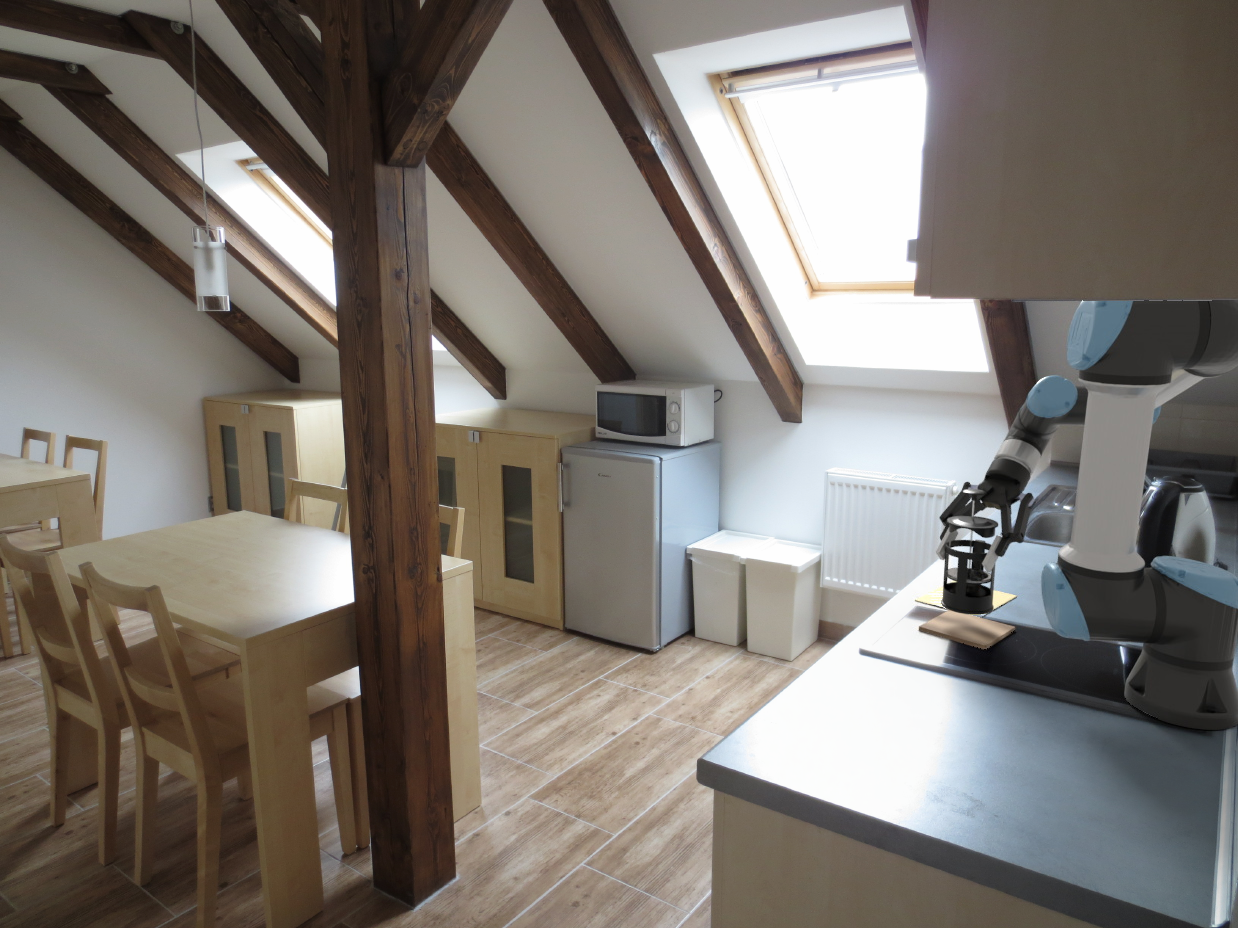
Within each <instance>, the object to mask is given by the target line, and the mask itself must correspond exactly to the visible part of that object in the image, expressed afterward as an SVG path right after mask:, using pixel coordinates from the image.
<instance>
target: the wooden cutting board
mask: <svg viewBox="0 0 1238 928" xmlns="http://www.w3.org/2000/svg"><path fill="white" fill-rule="evenodd" d="M1014 630H1015V631H1016V626H1013V625H1010V624H1005V623H1002V622H998V621H995V620H991V619H987V618H984V617H981V618H980V617H977V616H973V615H969V614H962V613H957V612H954V611H951V610H946V611H945V612H942V613H941V614H939V615H938V616H936V617H933V618H931V619H930V620H928V621H926V622H924V623H923V624H921V625H919V626H918V631H920V632H923V633H927V634H930V635H934V636H937V637H941V638H944V639H947V640H949V641H950V640H951V641H953V642H957V643H960V644H963V643H964V645H967V646H970V647H973V646H974V648H977V647H978V649H980V648H981V650H984V649H986V650H987V648H988V649H989V648H991V647H992V646H994V645H995V644H997V643H998V642H1000V641H1001V640H1003V639H1005V638H1006V637H1007V636H1009V635H1011V634H1012V633H1013V631H1014ZM1015 631H1014V632H1015ZM1011 632H1012V633H1011ZM990 646H991V647H990Z"/></svg>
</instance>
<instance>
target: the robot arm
mask: <svg viewBox="0 0 1238 928" xmlns="http://www.w3.org/2000/svg"><path fill="white" fill-rule="evenodd" d="M1066 341H1067V342H1066V350H1067V353H1066V358H1067V362H1068V363H1067V364H1068V365H1069V366H1070V367H1071V368H1072V369H1075V370H1076V371H1078V377H1077V378H1078V379H1077V380H1078V381H1079V383H1080V384H1081V385H1075V384H1074V382H1073V381H1071V380H1070V379H1068V378H1065V377H1063V376H1062V375H1055V374H1054V375H1047V376H1045V377H1042V378H1040V379H1039V380H1038V381H1037V382H1036V384H1034V386H1033V387H1032V388H1031V390H1030V391H1029V392H1028V394H1027V396H1026V399H1025V401H1024V403H1023V404H1022V405H1021V407H1020V409H1019V411H1018V412H1016V413H1017V414H1016V416H1015V418H1014V421H1013V422H1012V424H1011V425H1010V428H1009V430H1008V432H1007V434H1006V436H1005V438H1004V439H1003V441H1002V443H1001V445H1000V447H999V449H998V450H997V452H996V453H995V455H994V457H993V460H992V462H991V464H990V465H989V467H988V469H987V471H986V473H985V475H984V479H983V480H982V481H981V482H980V483H979V484H971V483H970V481H966V482H964V483H963V485H962V487H961V490H960V491H959V493H958V494H957V495H956V497H954V498H953V500H952V501H951V502H950V504H949V505H948V506H947V507H946V508H945V510H944V511H943V512H942V513H941V514H940V516H939V520H940V522H941V523H942V526H944V528H943V530H942V532H941V533H940V536H939V540H940V543H939V545H938V547H937V548H936V550H935V553H936V555H937V557H938V558H939V560H941V561H945V548H946V543H948V542H949V548H950V544H951V541H953V540H957V539H956V538H957V537H958V535H959V532H958V529H957V530H956V531H954V532H952V533H951V532H949V523H948V522H947V519H948V518H950V517H954V516H972V506H973V501H972V500H971V495H970V494H965V493H963V492H962V491H963V490H966V489H979V490H983V491H985V492H986V494H985V495H977V500H976V501H975V507H974V516H976V515H977V514H978V513H979V512H981V511H982V512H983V511H984V510H985V509H987V508H990V509H996V510H998V511H999V510H1000V525H1001V532H1000V534H1001V535H996V536H995V538H994V540H993V542H992V543H991V547H990V549H989V550H987V552H986V553H987V555H986V557H985V559H984V561H983V563H982V565H983V566H984V571H986V572H988V573H991V570H992V568H993V566H994V565H995V566H996V562H997V561H998V559H999V557H1001V558H1003V557H1004V556H1005V555H1006V553H1007V550H1008V549H1009V546H1010V545H1011V544H1012V543H1017V544H1022V543H1023V542H1025V541H1024V540H1025V535H1026V531H1027V528H1028V523H1029V519H1030V514H1031V511H1032V509H1033V507H1034V506H1035V505H1036V499H1035V497H1034V495H1033V493H1032V492H1027V493H1024V491H1025V490H1026V487H1027V485H1028V484H1029V481H1030V479H1031V476H1032V475H1033V473H1034V471H1035V470H1036V469H1037V466H1038V464H1039V462H1040V461H1041V458H1042V455H1043V453H1045V450H1046V448H1047V447H1048V445H1049V443H1050V442H1051V439H1052V438H1053V436H1054V435H1055V433H1056V431H1057V430H1058V429H1059V428H1060V426H1074V427H1075V426H1081V427H1084V428H1083V437H1082V445H1081V453H1080V459H1079V461H1080V462H1079V469H1078V479H1077V484H1076V485H1077V487H1076V494H1075V495H1076V497H1075V502H1074V503H1075V505H1074V511H1073V520H1072V529H1071V537H1070V541H1069V542H1068V543H1065V545H1063V546H1062V547H1060V548H1059V549H1058V553H1057V560H1056V561H1057V562H1055V561H1054V562H1053V561H1051V562H1049V563H1046V564H1045V565H1043V568H1042V570H1041V576H1040V578H1041V579H1040V582H1041V583H1040V588H1041V597H1042V603H1043V607H1044V611H1045V614H1046V619H1047V620H1048V623H1049V625H1050V627H1051V628H1052V630H1053V631H1054V633H1056V634H1057V635H1058V636H1060V637H1062V638H1067V639H1075V640H1083V641H1085V642H1089V641H1094V642H1095V641H1097V642H1098V641H1099V642H1117V643H1118V642H1119V643H1132V644H1133V643H1137V644H1142V650H1141V653H1140V655H1139V657H1138V658H1137V660H1136V662H1135V663H1134V666H1133V668H1132V669H1131V671H1130V673H1129V675H1128V676H1127V678H1126V680H1125V685H1124V693H1123V694H1124V695H1123V696H1124V698H1126V699H1125V700H1126V702H1127V703H1128V702H1129V703H1130V704H1129V703H1128V704H1129V705H1131V706H1132V705H1133V706H1134V707H1136V708H1138V709H1139V710H1141V711H1144V712H1146V713H1148V714H1150V715H1152V716H1154V717H1157V718H1158V719H1157V720H1159V721H1162V722H1163V723H1164V722H1165V723H1168V724H1172V725H1176V726H1179V727H1185V728H1188V729H1189V728H1190V729H1197V730H1203V731H1204V730H1206V731H1207V730H1208V731H1209V730H1210V731H1213V730H1214V731H1215V730H1216V731H1218V730H1220V731H1221V730H1226V729H1231V728H1234V727H1235V726H1237V725H1238V687H1237V683H1236V678H1235V675H1234V670H1233V668H1234V659H1235V653H1236V647H1237V640H1238V576H1236V575H1235V574H1234V573H1232V572H1229V571H1228V570H1226V569H1224V568H1222V567H1219V566H1216V565H1212V564H1210V563H1207V562H1203V561H1199V560H1194V559H1190V558H1185V557H1179V556H1171V555H1162V556H1156V557H1154V558H1153V560H1152V561H1151V562H1150V566H1151V567H1146V566H1145V565H1146V562H1145V560H1144V558H1142V556H1141V555H1140V554H1139V553H1138V552H1137V551H1136V545H1137V537H1138V530H1139V523H1140V514H1141V507H1142V501H1143V493H1144V486H1145V481H1146V480H1145V477H1146V472H1147V466H1148V458H1149V451H1150V449H1149V448H1150V443H1151V435H1152V431H1153V425H1154V424H1155V423H1156V422H1157V420H1158V417H1160V414H1161V412H1162V411H1161V409H1162V405H1164V404H1165V403H1167V402H1168V401H1170V400H1172V399H1173V398H1175V397H1176V396H1178V395H1180V394H1182V393H1183V392H1185V391H1186V390H1188V389H1189V388H1191V387H1192V386H1194V385H1196V384H1197V383H1199V382H1201V381H1202V380H1204V379H1211V378H1218V377H1220V376H1223V375H1225V374H1227V373H1228V372H1230V371H1231V370H1234V369H1235V368H1236V367H1238V300H1212V301H1183V300H1182V301H1167V300H1163V301H1149V300H1144V301H1083V300H1082V301H1081V302H1080V304H1079V305H1078V307H1077V308H1076V310H1075V313H1074V314H1073V317H1072V319H1071V323H1070V326H1069V330H1068V334H1067V340H1066ZM1018 502H1019V507H1018V510H1017V514H1016V519H1015V523H1014V527H1012V512H1013V511H1012V505H1014V504H1016V503H1018ZM1133 706H1132V707H1133ZM1134 707H1133V708H1134ZM1136 708H1135V709H1136ZM1139 710H1138V711H1139ZM1141 711H1140V712H1141Z"/></svg>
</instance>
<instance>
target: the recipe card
mask: <svg viewBox="0 0 1238 928" xmlns="http://www.w3.org/2000/svg"><path fill="white" fill-rule="evenodd" d="M951 582H956V581H953V580H952V581H950V582H949V583H951ZM933 591H934V592H932V591H930V592H929V593H936V591H943V585H942V586H940V587H938V588H936V589H934V590H933ZM937 593H939V594H940V593H942V594H943V592H937ZM927 594H928V593H926V594H924V595H922V596H920V597H917V598H916V599H914V601H915V602H918V603H921V602H924V603H923V604H925V603H927V604H926V605H929V604H933V605H935V604H936V605H937V604H939V605H941V603H935V604H934V603H931V602H930V601H932V602H934V601H938V602H939V601H941V600H939V599H942V598H943V597H931V596H932V595H927ZM934 596H936V595H934ZM937 596H939V595H937ZM940 596H943V595H940ZM1017 597H1018V595H1015V594H1011V593H1008V592H1007V593H1006V592H1003V591H999V590H995V589H994V591H993V607H994V609H995V610H996V608H997V607H998V608H1000V607H1001V605H1002V606H1003V605H1005V604H1006V603H1009V602H1010V601H1011V600H1014V599H1015V598H1017ZM931 599H938V600H931ZM999 606H1000V607H999ZM940 607H942V606H940ZM940 607H939V608H940ZM998 608H997V609H998ZM994 609H993V611H995V610H994Z"/></svg>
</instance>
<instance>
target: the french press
mask: <svg viewBox="0 0 1238 928" xmlns="http://www.w3.org/2000/svg"><path fill="white" fill-rule="evenodd" d="M962 492H963V493H965V494H970V495H971V499H970V501H973V506H972V516H954V517H950V518H948V519H947V522H948V523H949V532H951V533H952V532H954V531H956V530H957V531H958V530H960V529H967V530H970V537H969V539H955V540H953V541H951V544H950V548H949V542H948V543H946V548H945V559H944V567H943V569H944V570H943V583H942V586H943V598H942V600H941V604H942V606H943V607H945V608H946V609H945V610H947V609H948V610H951V611H954V612H957V613H962V614H970V615H981V614H986V615H988V614H990V613H992V612H993V611H994V610H993V609H994V607H993V591H994V590H995V588H994V586H995V574H996V564H995V565H994V566H993V568H992V570H991V572H987V571H986V570H985V568H984V566H983V565H982V563H983V561H984V559H985V557H986V555H987V553H988V552H986V551H989V549H990V547H991V545H992V543H989V542H986V541H985V540H981V539H975V540H973V535H974V533H975V534H977V535H978V536H980V537H982V538H983V539H990V538H993V537H994V536H995V535H996V528H998V527H999V522H998V521H996V520H994V519H991V518H988V517H983V516H976V515H974V507H975V501H976V500H977V495H985V494H986V492H985V491H983V490H979V489H966V490H963V491H962ZM995 537H996V536H995ZM955 547H956V548H957V547H969V552H966V551H961V550H957V549H954V548H955ZM950 556H951V557H954V558H957V567H952V568H951V567H950V568H949V559H950ZM948 579H949V580H952V581H956V582H952V581H950V582H951V583H950V582H948ZM983 584H984V585H983ZM985 584H990V586H989V587H988V586H986V585H985ZM948 610H947V611H948ZM987 613H988V614H987Z"/></svg>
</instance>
